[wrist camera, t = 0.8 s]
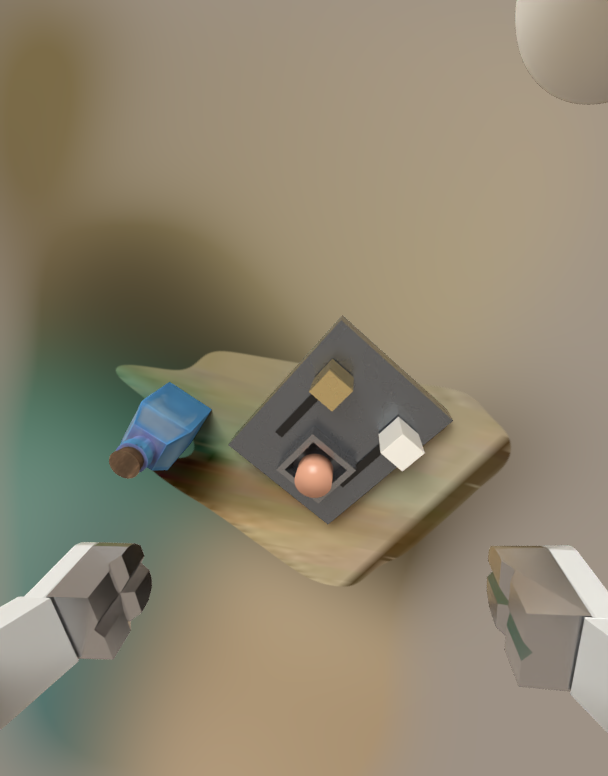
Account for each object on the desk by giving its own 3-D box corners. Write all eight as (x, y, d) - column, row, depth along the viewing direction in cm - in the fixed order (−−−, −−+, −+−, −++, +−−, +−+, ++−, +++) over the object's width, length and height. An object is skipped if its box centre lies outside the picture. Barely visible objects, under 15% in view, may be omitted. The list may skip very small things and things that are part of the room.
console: (342, 315, 39) (340, 323, 35) (446, 409, 41) (457, 429, 37) (236, 433, 46) (222, 453, 42) (329, 508, 48) (326, 535, 44)
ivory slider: (398, 416, 39) (402, 433, 35) (418, 434, 39) (424, 453, 36) (378, 434, 40) (380, 452, 36) (398, 451, 40) (402, 471, 37)
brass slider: (332, 358, 38) (329, 370, 34) (353, 377, 38) (353, 390, 34) (313, 378, 39) (308, 392, 35) (334, 396, 39) (332, 411, 35)
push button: (313, 446, 40) (311, 459, 38) (340, 469, 40) (339, 482, 38) (291, 468, 41) (286, 481, 39) (317, 490, 42) (315, 504, 40)
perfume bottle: (190, 443, 48) (139, 501, 37) (150, 418, 47) (86, 468, 36) (211, 409, 46) (164, 460, 35) (169, 381, 45) (107, 424, 34)
